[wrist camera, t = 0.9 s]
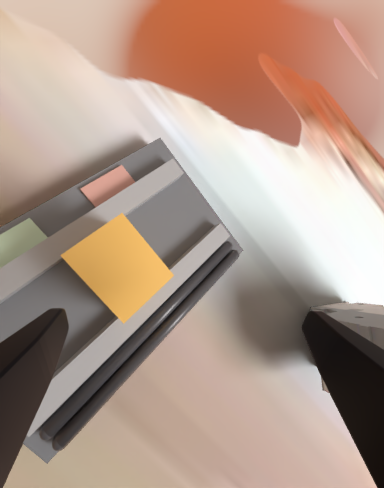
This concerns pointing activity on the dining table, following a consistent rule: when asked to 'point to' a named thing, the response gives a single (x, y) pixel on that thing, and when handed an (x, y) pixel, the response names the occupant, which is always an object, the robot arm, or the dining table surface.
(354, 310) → the circuit breaker
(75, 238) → the panel
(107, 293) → the toggle
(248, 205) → the dining table surface
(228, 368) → the dining table surface
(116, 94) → the dining table surface
